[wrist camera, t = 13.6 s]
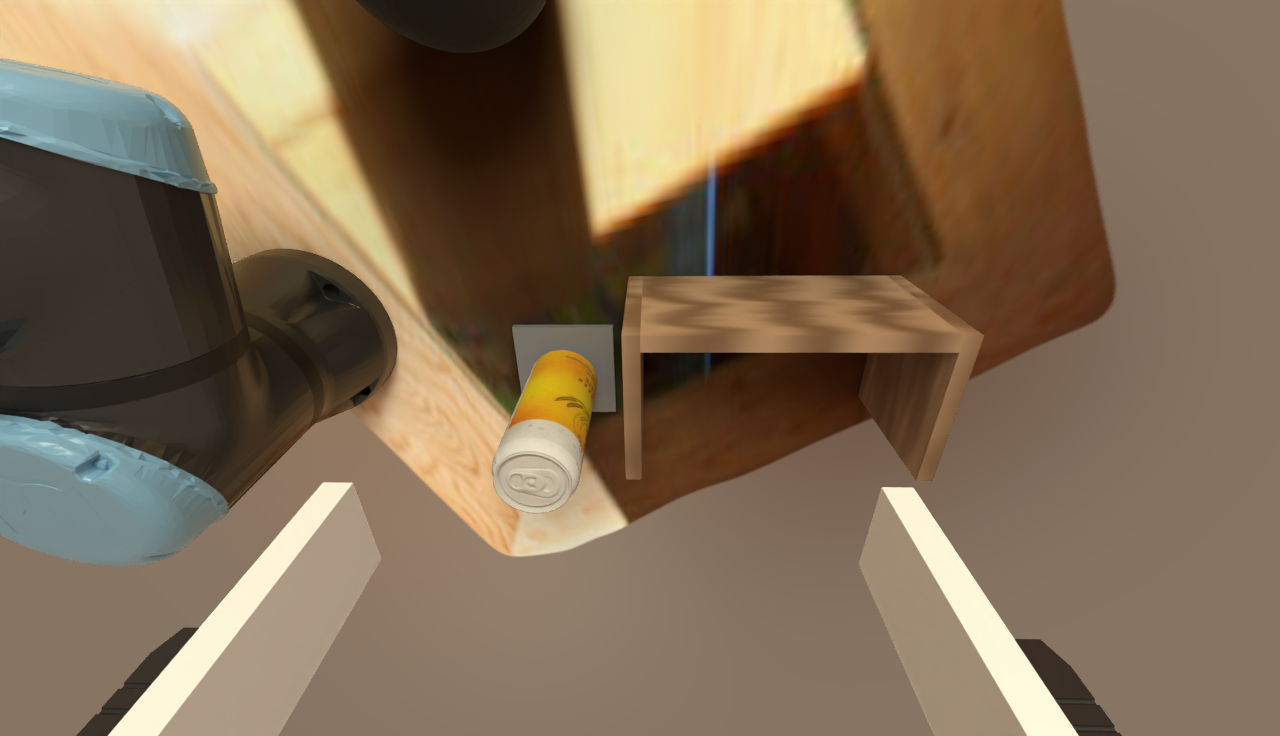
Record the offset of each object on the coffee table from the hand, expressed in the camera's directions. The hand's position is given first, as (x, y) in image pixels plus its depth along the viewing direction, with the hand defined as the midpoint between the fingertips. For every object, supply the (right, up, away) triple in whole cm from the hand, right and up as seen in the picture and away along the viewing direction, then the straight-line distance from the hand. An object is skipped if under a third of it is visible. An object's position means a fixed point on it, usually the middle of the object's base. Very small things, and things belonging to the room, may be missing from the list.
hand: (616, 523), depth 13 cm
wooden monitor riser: (+11, +7, +32) cm, 35 cm away
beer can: (-6, +3, +34) cm, 35 cm away
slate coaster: (-6, +4, +34) cm, 35 cm away
